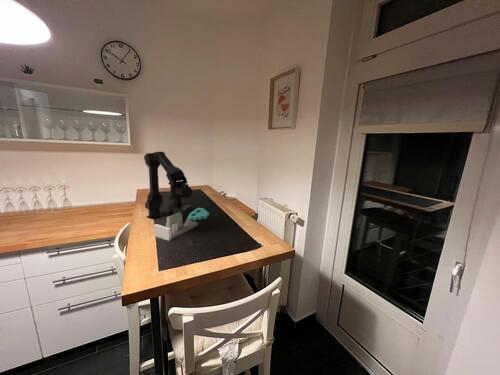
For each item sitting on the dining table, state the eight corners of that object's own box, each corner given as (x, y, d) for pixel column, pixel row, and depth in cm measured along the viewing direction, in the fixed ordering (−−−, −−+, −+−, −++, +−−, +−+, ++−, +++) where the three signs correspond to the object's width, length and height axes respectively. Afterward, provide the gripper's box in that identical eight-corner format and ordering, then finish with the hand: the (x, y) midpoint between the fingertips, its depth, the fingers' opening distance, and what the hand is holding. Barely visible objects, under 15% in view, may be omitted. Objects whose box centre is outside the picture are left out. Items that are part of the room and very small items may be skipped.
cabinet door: (167, 231, 108) (166, 217, 106) (183, 223, 119) (183, 210, 117) (171, 232, 107) (170, 218, 105) (187, 224, 118) (186, 211, 116)
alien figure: (170, 219, 129) (200, 223, 125) (170, 216, 129) (200, 220, 125) (186, 209, 148) (213, 212, 144) (186, 206, 148) (213, 209, 144)
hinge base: (154, 236, 106) (153, 225, 105) (184, 221, 126) (184, 212, 124) (169, 240, 102) (168, 229, 101) (198, 225, 122) (198, 215, 120)
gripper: (150, 194, 106) (152, 223, 109) (178, 200, 98) (179, 231, 102) (167, 190, 116) (169, 216, 119) (194, 195, 108) (194, 223, 112)
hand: (177, 221), depth 113 cm, fingers open, 9 cm apart
